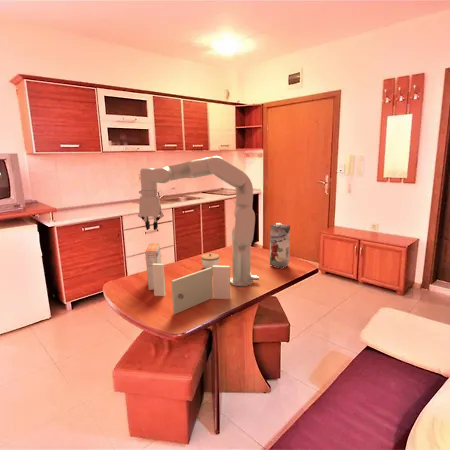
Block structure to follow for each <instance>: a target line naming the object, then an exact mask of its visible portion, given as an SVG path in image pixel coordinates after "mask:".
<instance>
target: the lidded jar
mask: <svg viewBox="0 0 450 450" xmlns="http://www.w3.org/2000/svg"><path fill="white" fill-rule="evenodd" d="M201 264H202V266H203V268H204V269H207V268H210V267H211V268H212V271H213V265H218V266H219V265H220V254H218V253H212V252H208V253H204V254H202V255H201Z"/></svg>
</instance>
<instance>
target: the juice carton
mask: <svg viewBox="0 0 450 450" xmlns="http://www.w3.org/2000/svg"><path fill="white" fill-rule="evenodd" d="M269 233H270V234H269V239H270V240H269V266H270V265H272V266H276V267H279V268H283V267H285V266H288V267H289V264H290V247H291V246H290V245H291V242H290V241H291V225H289V224H282V223H281V222H276V223H273V224H271V225H270V231H269ZM272 266H271V267H272ZM276 267H275V268H276ZM279 268H278V269H279ZM285 268H286V267H285ZM283 269H284V268H283Z"/></svg>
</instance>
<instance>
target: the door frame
mask: <svg viewBox="0 0 450 450" xmlns="http://www.w3.org/2000/svg"><path fill="white" fill-rule="evenodd" d="M164 265H165V264H164V263H161V264H155V263H154V264H153V265H152V266H153V281H154V290H153V293H154V297H165V296H166V294H167V293H166V280H165V266H164ZM230 278H231V266H230V265H219V264H218V265H213V270H212V285H213V298H212V299H214V300H215V299H216V300H231V283H230Z"/></svg>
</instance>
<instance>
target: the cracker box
mask: <svg viewBox="0 0 450 450" xmlns="http://www.w3.org/2000/svg"><path fill="white" fill-rule="evenodd" d="M144 252H145V253H144V255H145V264H146V265H145V266H146V273H147V274H146V276H147V289H148V291H154V281H153V266H152V265H153V264H154V263H155V264H162V259H161V258H162V257H161V245H160V243H159V242H157V243H148V245H147V247H146V249H145V251H144Z"/></svg>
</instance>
